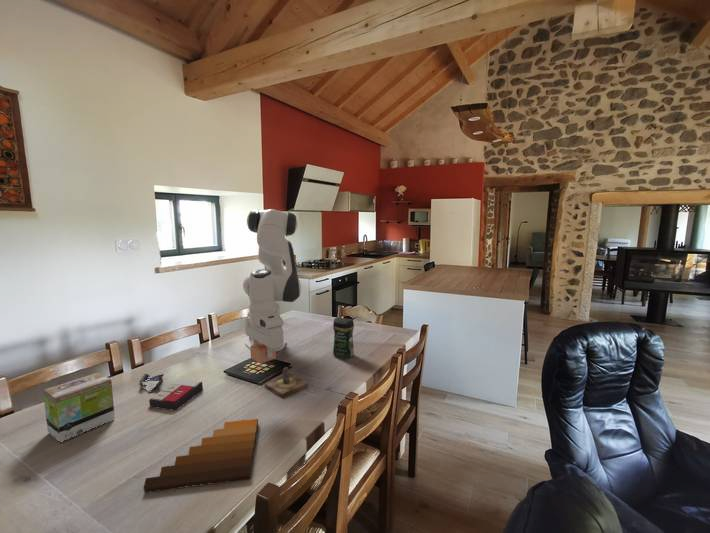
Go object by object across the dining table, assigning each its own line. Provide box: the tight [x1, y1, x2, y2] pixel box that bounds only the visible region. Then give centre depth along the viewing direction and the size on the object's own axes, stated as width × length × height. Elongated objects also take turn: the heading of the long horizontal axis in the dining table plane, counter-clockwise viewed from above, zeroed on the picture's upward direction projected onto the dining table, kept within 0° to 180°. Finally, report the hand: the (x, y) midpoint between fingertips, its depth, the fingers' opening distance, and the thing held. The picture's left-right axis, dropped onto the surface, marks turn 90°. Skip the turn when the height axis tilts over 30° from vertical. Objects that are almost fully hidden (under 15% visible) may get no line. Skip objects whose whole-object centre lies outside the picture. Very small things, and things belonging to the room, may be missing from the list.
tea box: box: [42, 372, 116, 443], centre depth 113 cm, size 15×10×15 cm, turn 148°
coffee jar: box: [332, 316, 355, 360], centre depth 169 cm, size 10×8×19 cm
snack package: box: [139, 373, 164, 393], centre depth 141 cm, size 12×6×12 cm
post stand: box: [264, 366, 309, 399], centre depth 139 cm, size 12×12×8 cm
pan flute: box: [143, 418, 259, 493], centre depth 101 cm, size 25×3×25 cm
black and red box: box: [148, 378, 204, 411], centre depth 131 cm, size 11×4×15 cm
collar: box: [250, 343, 277, 364], centre depth 127 cm, size 6×6×4 cm
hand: (263, 353), depth 127 cm, fingers closed on collar, 6 cm apart
